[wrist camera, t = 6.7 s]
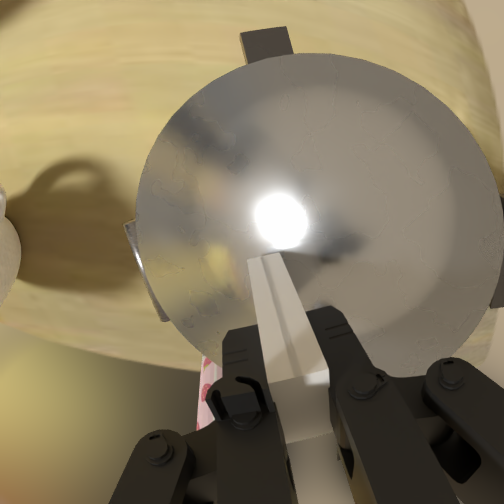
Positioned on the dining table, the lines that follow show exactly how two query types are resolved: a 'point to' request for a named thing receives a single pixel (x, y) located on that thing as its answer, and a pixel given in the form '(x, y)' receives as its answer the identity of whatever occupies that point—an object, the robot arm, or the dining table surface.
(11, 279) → the mug
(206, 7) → the dining table surface
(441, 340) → the lid
